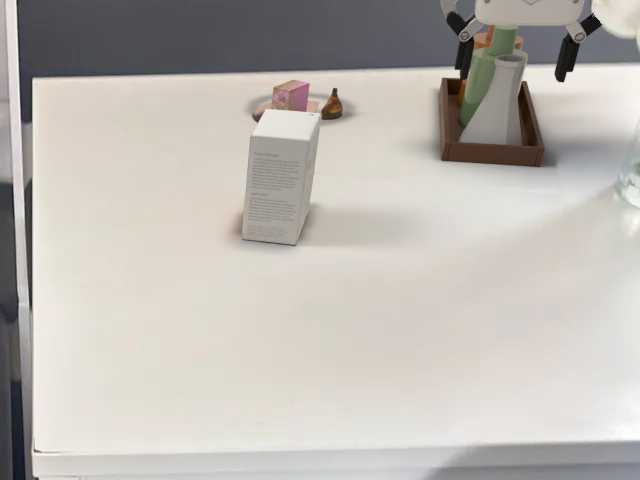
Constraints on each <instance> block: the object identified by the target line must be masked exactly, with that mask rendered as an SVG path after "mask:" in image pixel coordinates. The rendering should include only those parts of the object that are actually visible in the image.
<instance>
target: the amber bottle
mask: <svg viewBox="0 0 640 480" xmlns="http://www.w3.org/2000/svg"><path fill="white" fill-rule="evenodd" d="M494 27H495V25H487V29H486V30H487V31H486V32H478V33H475V34H474V36H473V37H474V49H473V52H474V51H475V50H477V49H480V48H486V47H490V45H491V40H492V36H493V31H494ZM524 40H525V39H524V37H522V36H520V35H517V38H516V42H515V47H514V49H518V50H521V51H522V48H523V46H524ZM472 55H473V54H472ZM466 82H467V79H465V80H462V81H461V86H460V90H459V95H458V99H457V105H458V106H460V107H461V105H462V100H463V96H464V91H465V87H466Z"/></svg>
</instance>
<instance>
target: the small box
mask: <svg viewBox="0 0 640 480" xmlns="http://www.w3.org/2000/svg"><path fill="white" fill-rule="evenodd" d="M321 124H322V114H321V112H316V113H312V112H300V111H287V110H275V109H265V111H264V113H263V114H262V116H261V118H260V120H259V122H257V124H255V125H256V126H255V127H254V129H253V131H252V132H251V134H250V135H249V136H250V137H249V147H248V159H247V171H246V182H245V183H246V184H245V193H244V203H243V219H242V228H241V239H242V240H246V241H255V242H256V241H257V242H267V243H274V244H283V245H292V246H296V245H298V241H299V238H300V236H301V233H302V230H303V227H304V225H305V222H306V219H307V216H308V215H309V211H310V202H311V197H312V190H313V183H314V182H313V181H314V175H315V167H316V161H317V154H318V153H317V152H318V146H319V138H320V132H321V131H320V130H321Z"/></svg>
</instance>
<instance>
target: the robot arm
mask: <svg viewBox="0 0 640 480" xmlns="http://www.w3.org/2000/svg"><path fill="white" fill-rule="evenodd" d="M459 1H460V0H439V3H440V7H441V9H442V10H441V11H442V13H443V15H444V18H445V22H446V24H447V25H448V26H449V27H450V29H451V30H452V31H453V33H454V34H455V35H456V37H457V38H458V39H459V40H458V46H457V52H456V57H455V61H454V71H459V78H460V80H465V79H468V74H469V69H470V64H471V59H472V54H473V49H474V37H473V36H474V35H475V34H477V32H479V31H480V30H481V29H482V28H483V27H484V26H485V25H487V26H489V25H502V26H518V27H558V26H559V27H560V26H564V28H565V30H566V31H567V34H566V35H565V37H563V38H562V41H561V45H560V48H559V51H558V52H559V53H558V57H557V60H556V65H555V69H554V72H553V73H554V74H553V75H554V79H555V80H556V82H558V83H565V81H566V77H567V74H568V73H573V72H574V69H575V66H576V62H577V58H578V53H579V50H580V46H581V43H583V42H584V41H585V40H586V39H587V37H589V36H590V35H592V34H593V33H594V32H595V31H597V30H598V29H599V28H600V27H602V26H603V25H602V24H601V23H600V21H599V20H598V19H597V18H596V17H595V15H594V12H592V13H591V14H589V15H588V16H587V17H586V18H584V19H583V20H582V21H580V20H579V19H580V17H581V15H582V12H583V9H584V6H585V2H586V0H474V12H473V13H472V14H471V15H470V16H469V17H468V18H466V19H465V20H464V18H463V17H462V16H461V15H460V14H459V12H458V9H457V7H456V4H457V2H459Z"/></svg>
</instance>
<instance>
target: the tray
mask: <svg viewBox="0 0 640 480" xmlns="http://www.w3.org/2000/svg"><path fill="white" fill-rule="evenodd" d="M461 81H462V80H460V77H441V81H440V87H439V92H438V104H439V133H440V136H439V139H440V160H441V162H453V163H468V164H481V165H482V164H483V165H484V164H485V165H499V166H516V167H529V168H540V167H541V165H542V162H543V158H544V154H545V151H546V146H545V143H544V139H543V137H542V132H541V129H540V125H539V122H538V118H537V114H536V110H535V107H534V102H533V99H532V96H531V92H530V88H529V85H528V81H527V80H522V83H521V87H520V91H519V95H518V110H519V121H520V129H521V138H522V146H517V145H500V144H483V143H466V142H458V140H459V138H460V136H461V135H462V133H463V131H464V130H465V128H466V127H465V126H463V125H461V124H460V123H459V122H458V119H459V114H460V109H461V107H460V106H458V105H457V99H458V95H459V90H460V86H461Z"/></svg>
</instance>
